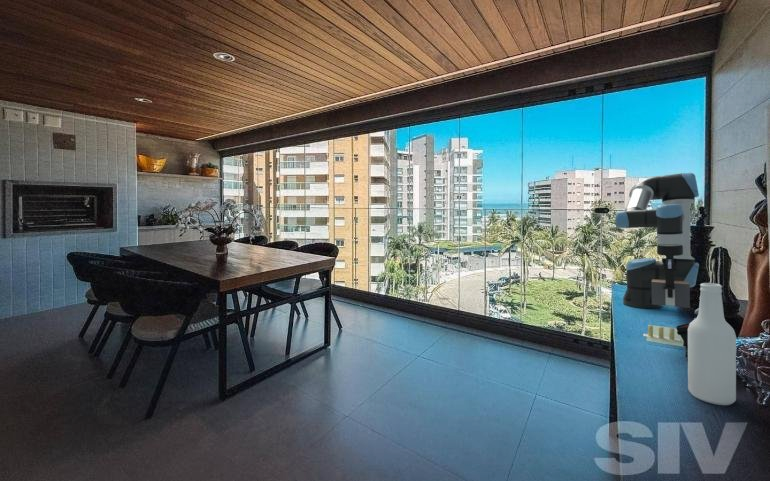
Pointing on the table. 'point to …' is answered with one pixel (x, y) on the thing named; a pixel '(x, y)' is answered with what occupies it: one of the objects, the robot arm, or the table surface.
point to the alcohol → (712, 350)
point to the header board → (664, 335)
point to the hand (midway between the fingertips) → (670, 303)
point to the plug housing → (680, 293)
